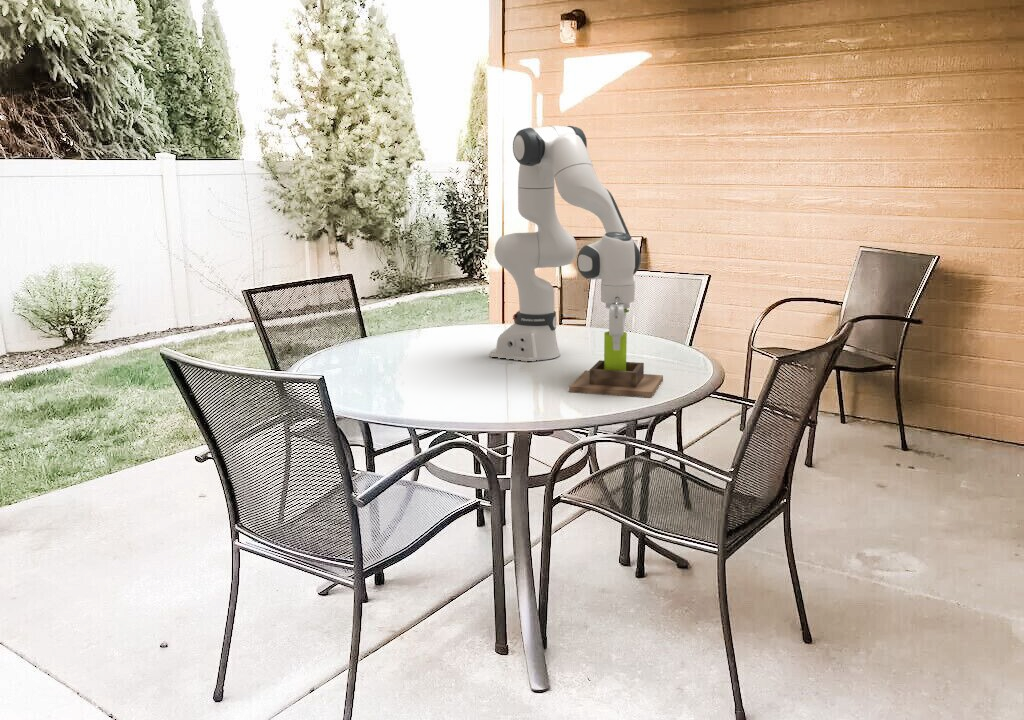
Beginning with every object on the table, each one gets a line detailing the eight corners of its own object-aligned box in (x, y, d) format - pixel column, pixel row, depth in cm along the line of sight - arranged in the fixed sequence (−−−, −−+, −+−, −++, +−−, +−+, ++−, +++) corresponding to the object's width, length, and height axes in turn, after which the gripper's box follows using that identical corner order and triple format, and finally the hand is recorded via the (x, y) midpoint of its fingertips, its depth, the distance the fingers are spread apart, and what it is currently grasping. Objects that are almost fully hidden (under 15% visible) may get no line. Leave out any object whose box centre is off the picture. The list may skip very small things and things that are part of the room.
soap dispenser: (618, 385, 206) (619, 310, 202) (599, 380, 211) (600, 307, 207) (633, 381, 210) (634, 307, 205) (614, 376, 215) (615, 304, 210)
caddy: (568, 391, 206) (568, 371, 205) (585, 375, 223) (585, 356, 222) (652, 397, 199) (652, 376, 198) (662, 380, 216) (663, 361, 214)
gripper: (629, 301, 195) (628, 354, 198) (630, 289, 215) (629, 338, 218) (603, 300, 196) (603, 354, 199) (607, 289, 216) (607, 338, 219)
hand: (617, 346), depth 209 cm, fingers open, 8 cm apart
